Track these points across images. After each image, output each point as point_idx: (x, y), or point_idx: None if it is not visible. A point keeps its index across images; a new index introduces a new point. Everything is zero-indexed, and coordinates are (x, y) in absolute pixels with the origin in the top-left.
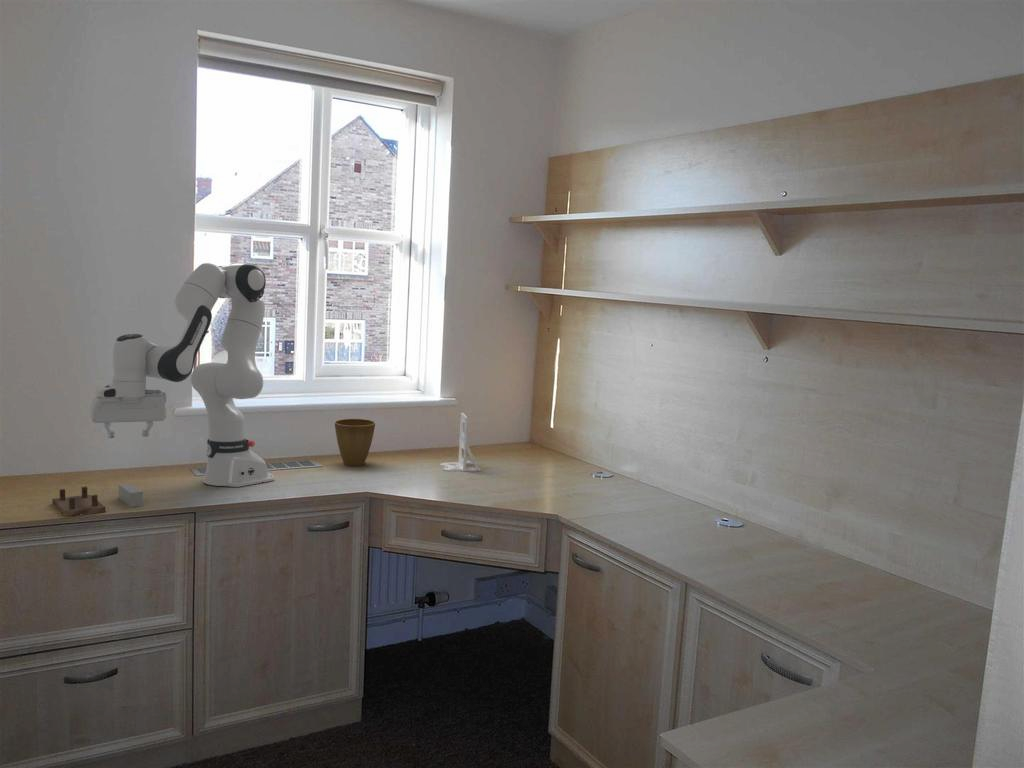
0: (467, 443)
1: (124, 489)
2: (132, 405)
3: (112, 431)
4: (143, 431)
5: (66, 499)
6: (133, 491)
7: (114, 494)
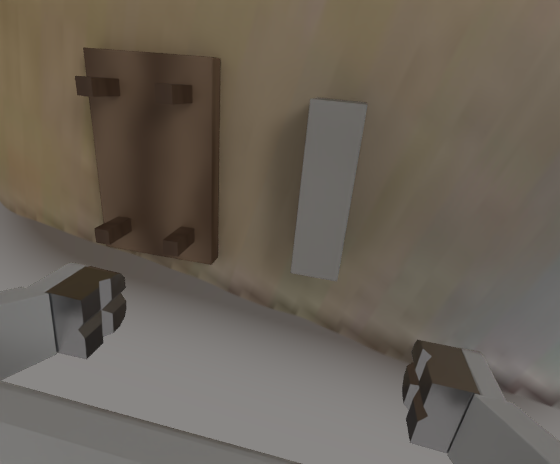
0: None
1: (300, 194)
2: None
3: (73, 313)
4: (411, 426)
5: (124, 90)
6: (309, 259)
7: (329, 18)
